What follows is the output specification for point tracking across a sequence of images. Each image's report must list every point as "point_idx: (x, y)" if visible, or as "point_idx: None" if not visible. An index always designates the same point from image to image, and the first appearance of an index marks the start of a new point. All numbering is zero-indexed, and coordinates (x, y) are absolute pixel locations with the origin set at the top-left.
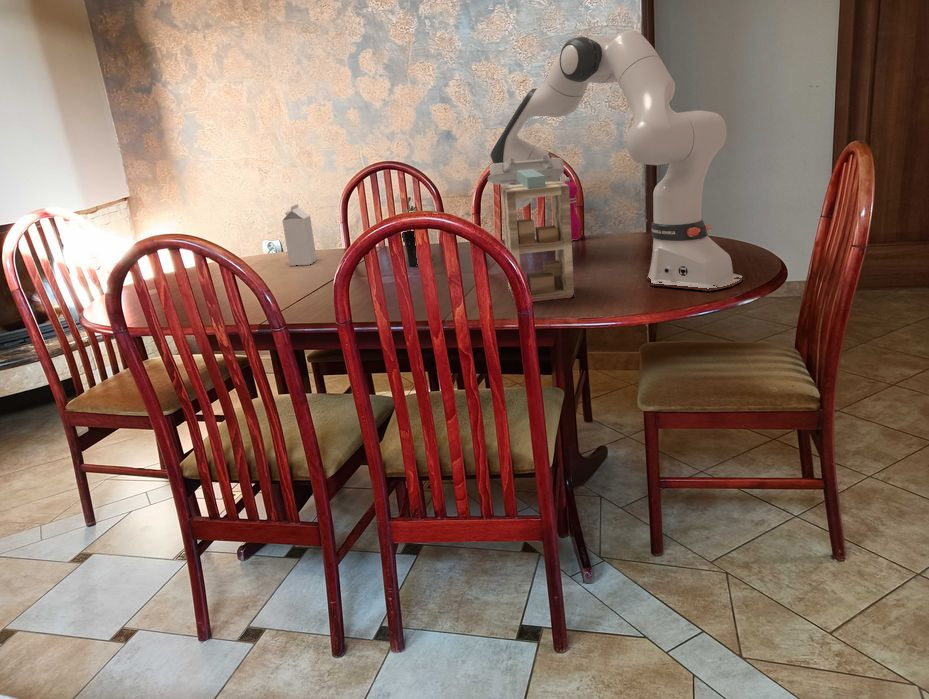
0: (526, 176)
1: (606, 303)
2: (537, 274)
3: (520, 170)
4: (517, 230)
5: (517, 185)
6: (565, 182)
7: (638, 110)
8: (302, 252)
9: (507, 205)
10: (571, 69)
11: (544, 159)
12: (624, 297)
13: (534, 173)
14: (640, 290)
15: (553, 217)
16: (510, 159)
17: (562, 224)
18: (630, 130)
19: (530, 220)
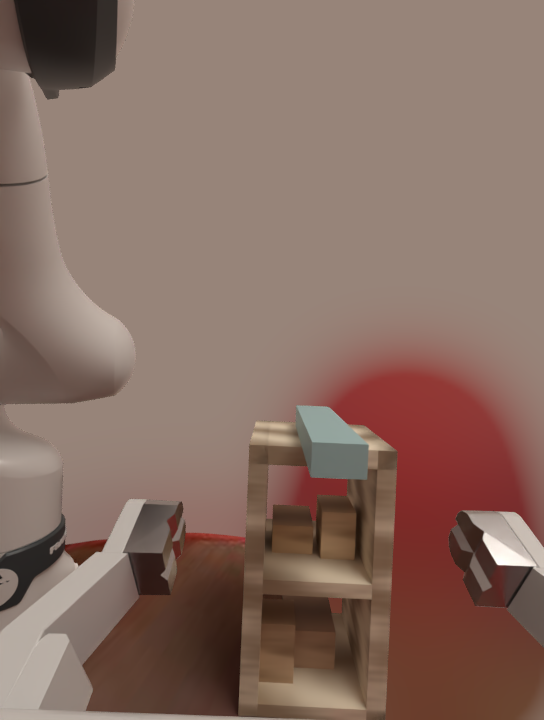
0: (330, 409)
1: (214, 579)
2: (311, 614)
3: (353, 442)
4: (347, 491)
5: None
6: None
7: (81, 292)
8: None
9: None
10: (121, 48)
11: (184, 522)
12: (175, 592)
13: (312, 415)
14: (126, 615)
15: (264, 536)
16: (490, 513)
17: (267, 488)
18: (127, 334)
19: (324, 502)
